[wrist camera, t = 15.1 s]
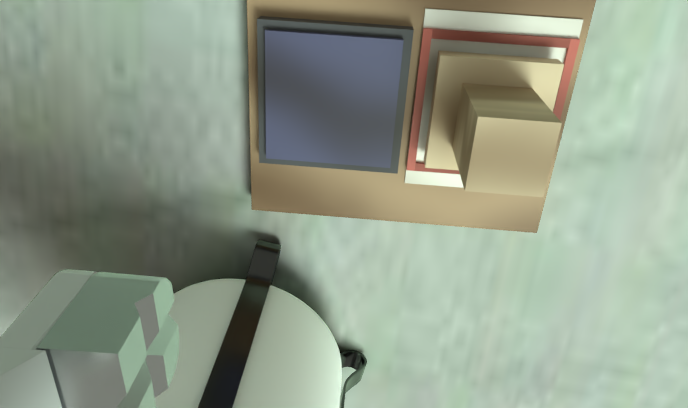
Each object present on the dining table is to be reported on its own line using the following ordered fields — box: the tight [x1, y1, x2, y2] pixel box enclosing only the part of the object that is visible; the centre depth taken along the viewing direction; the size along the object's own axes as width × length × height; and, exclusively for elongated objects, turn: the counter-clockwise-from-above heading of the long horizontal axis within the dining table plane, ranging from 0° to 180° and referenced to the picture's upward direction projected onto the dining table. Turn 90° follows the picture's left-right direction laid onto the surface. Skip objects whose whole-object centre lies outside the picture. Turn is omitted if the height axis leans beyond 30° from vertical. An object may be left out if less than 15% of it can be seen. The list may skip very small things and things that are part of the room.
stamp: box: [424, 50, 564, 197], centre depth 23 cm, size 5×5×6 cm
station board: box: [247, 0, 596, 233], centre depth 26 cm, size 13×15×2 cm
